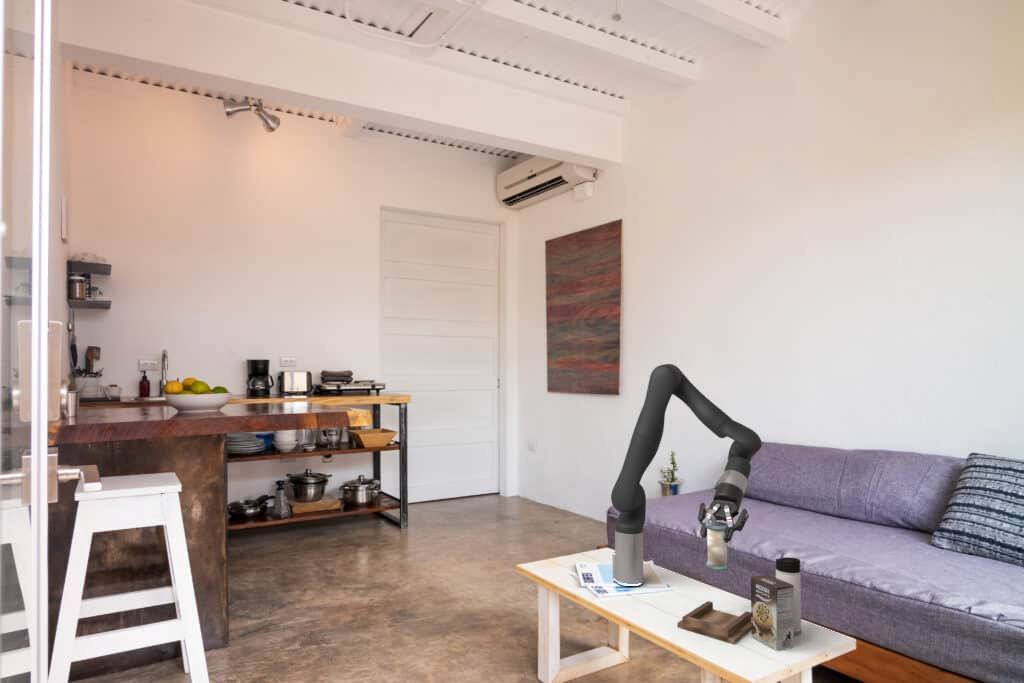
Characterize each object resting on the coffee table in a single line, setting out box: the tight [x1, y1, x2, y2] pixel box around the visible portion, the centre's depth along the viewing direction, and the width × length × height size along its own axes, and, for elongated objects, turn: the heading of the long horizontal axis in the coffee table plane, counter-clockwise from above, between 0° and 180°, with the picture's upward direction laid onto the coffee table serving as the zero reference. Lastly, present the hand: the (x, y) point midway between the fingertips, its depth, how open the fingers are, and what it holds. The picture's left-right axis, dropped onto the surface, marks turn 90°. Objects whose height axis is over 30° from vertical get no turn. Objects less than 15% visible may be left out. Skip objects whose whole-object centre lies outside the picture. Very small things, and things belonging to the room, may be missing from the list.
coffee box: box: [750, 574, 795, 652], centre depth 168 cm, size 9×6×16 cm
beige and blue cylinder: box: [705, 521, 730, 572], centre depth 178 cm, size 6×6×12 cm
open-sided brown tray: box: [677, 600, 751, 645], centre depth 177 cm, size 16×16×3 cm
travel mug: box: [775, 556, 802, 637], centre depth 175 cm, size 6×7×20 cm
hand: (714, 538), depth 177 cm, fingers closed on beige and blue cylinder, 6 cm apart
